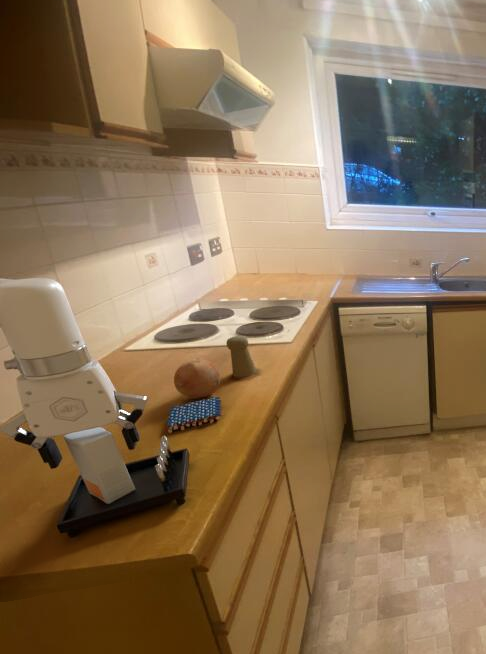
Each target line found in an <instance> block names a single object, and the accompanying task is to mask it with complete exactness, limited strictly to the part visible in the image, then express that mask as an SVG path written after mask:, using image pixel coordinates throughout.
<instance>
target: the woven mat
mask: <svg viewBox="0 0 486 654" xmlns="http://www.w3.org/2000/svg"><path fill="white" fill-rule="evenodd" d="M220 398H221V397H220V396H216V397H213V398H212V397H210V398H208V399H202V400H199V401H197V400H196V401H195V402H189V403H185V404H180V405H175V406H171V407H170V408H169V410H168V413H167V414H168V415H167V421H166V422H167V423H166V427H165V429H166V430H167V429H168V433H170V434H171V433H172V432H173V430H178V429H180V430H181V431H184V430H185V426H186V427H187V428H190V427H191V425H192V427H196V426H197V423H198V425H199V426H202V425H203V423H208V421H209V423H210V424H213V423H214V419H215V420H216V421H219V420H220V417H222V408H221V407H222V405H221V404H222V399H220Z"/></svg>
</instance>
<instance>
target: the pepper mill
mask: <svg viewBox="0 0 486 654" xmlns="http://www.w3.org/2000/svg"><path fill="white" fill-rule="evenodd" d="M226 347H227V349H228V350H229V351H230V358H231V370H232V376H233V377H234V378H241V379H242V378H246V377H250V376H253V375H255V374H256V373H257V372H258V371H257V368H256V364H255V362H254V360H253V358H252V356H251V353H250V350H249V348H248V347H249V340H248V338H247V337H246V336H245V335H244V336H243V335H235V336H232V337H229V338H228V339H226Z"/></svg>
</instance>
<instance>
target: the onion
mask: <svg viewBox="0 0 486 654" xmlns="http://www.w3.org/2000/svg"><path fill="white" fill-rule="evenodd" d="M220 382H221V375H220V372H219V369H218V368H217V366H216V365H214V364H213V363H212V362H210V361H209V360H206V359H203V358H193V359H192V358H191V359H189V360H187V361H185V362H184V363H183V364H181V365H180V366H179V367H178V368H177V369H176V371H175V373H174V376H173V384H174V387H175V389H176V390H177V392H178V393H180V394H181V395H182V396H184V397H187V398H190V399H195V400H196V399H203V398H206V397H208V396H209V395H211V394H213V393H215V391H216V390H217V389H218V388H219V386H220Z"/></svg>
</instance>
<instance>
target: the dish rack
mask: <svg viewBox="0 0 486 654" xmlns="http://www.w3.org/2000/svg"><path fill="white" fill-rule="evenodd" d="M160 439H161V442H160V443H159V447H160V449H158V452H157V453H158V455H154V456H150V457H147V458H142V459H139V460H134V461H131V462H127V463H125V466H126V468H127V471H128V473H129V475H130V478H131V480H132V483H133V485H134V487H135V490H134V491H132V492H130V493H128V494H126V495H125V496H123V497H121V498H119V499H117V500H115V501H113V502H111V503H110V504H107V503H105V502H104V501H102V500H101V499H99V498H97V497H95V496H94V495H92V494H90V493H89V491H88V489H87V487H86V484H85V482H84V480H83V478H82V476H81V474H80V475H78V476H77V479H76V481H75V483H74V485H73V487H72V490H71V492H70V494H69V496H68V498H67V501H66V503H65V505H64V507H63V509H62V512H61V514H60V516H59V518H58V520H57V522H56V525H55V526H56V528H57V530H58V532H59V534H60V535H61V534H65V533H67V535H68V538H75V537H77V536H79V534H80V531H79V530H80V529H81V528H85V527H89V526H92V525H95V524H99V523H102V522H106V521H109V520H112V519H115V518H119V517H123V516H126V515H129V514H133V513H136V512H139V511H143V510H146V509H149V508H152V507H156V506H160V505H162V504H166V503H170V502H173V501H175V502H176V505H178V506H181V505H183V504H185V502H186V498H185V497H186V493H187V484H188V475H189V466H190V452H189V450H188V448H183V449H178V450H174V451H171V448H170V445H169V442H168V439H167V436H165V435H162V436H161V438H160Z"/></svg>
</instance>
